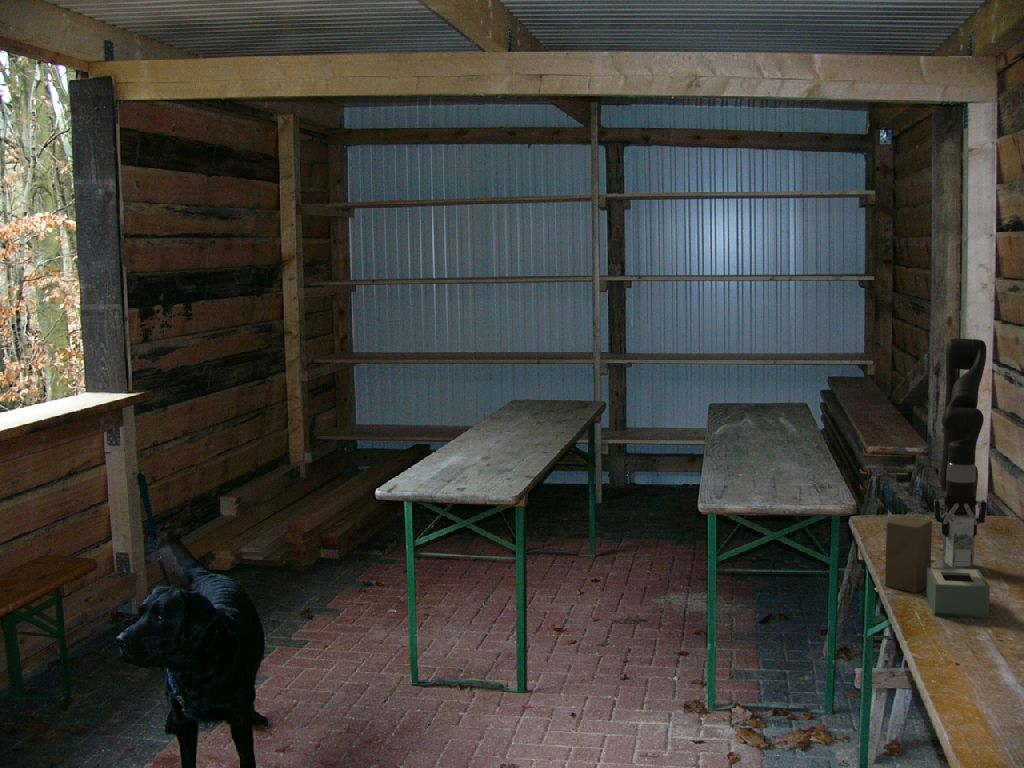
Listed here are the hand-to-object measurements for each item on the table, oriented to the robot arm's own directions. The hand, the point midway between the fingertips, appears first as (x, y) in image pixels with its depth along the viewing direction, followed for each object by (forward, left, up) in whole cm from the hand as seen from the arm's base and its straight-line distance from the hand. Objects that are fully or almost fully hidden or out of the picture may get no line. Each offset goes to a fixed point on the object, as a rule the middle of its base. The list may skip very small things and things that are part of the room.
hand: (958, 536), depth 315 cm
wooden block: (-18, -11, -21) cm, 30 cm away
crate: (0, 0, -21) cm, 21 cm away
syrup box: (0, 0, -8) cm, 8 cm away
